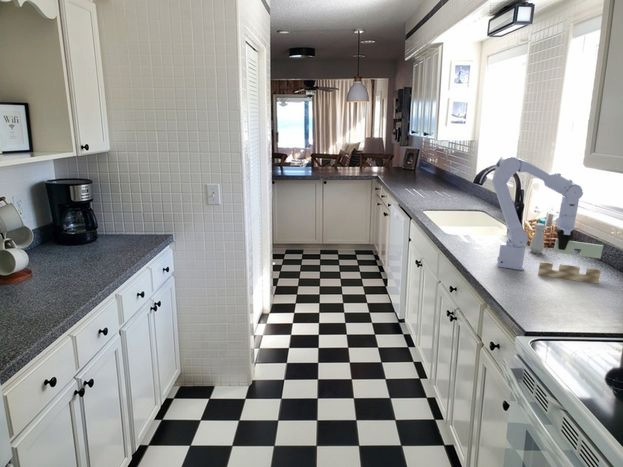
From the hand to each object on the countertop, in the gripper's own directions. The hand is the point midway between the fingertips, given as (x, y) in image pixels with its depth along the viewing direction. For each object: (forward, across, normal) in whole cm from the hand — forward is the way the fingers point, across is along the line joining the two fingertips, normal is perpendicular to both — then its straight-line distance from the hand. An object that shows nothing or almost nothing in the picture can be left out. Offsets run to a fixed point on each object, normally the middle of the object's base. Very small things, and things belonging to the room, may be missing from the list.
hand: (561, 248), depth 184 cm
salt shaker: (+9, +25, +6) cm, 27 cm away
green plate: (+2, 0, -6) cm, 6 cm away
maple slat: (+9, -9, -3) cm, 13 cm away
